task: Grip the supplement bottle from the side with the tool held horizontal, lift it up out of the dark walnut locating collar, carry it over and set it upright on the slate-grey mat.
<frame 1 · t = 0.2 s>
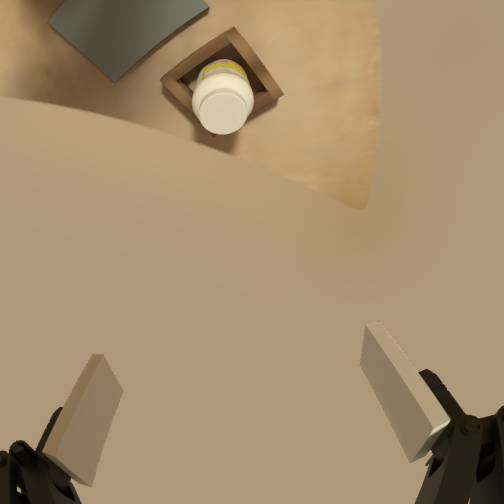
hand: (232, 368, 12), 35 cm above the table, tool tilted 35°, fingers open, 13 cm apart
locating collar: (222, 79, 32), on the table
supplement bottle: (222, 79, 32), resting in locating collar
slate mat: (122, 7, 20), on the table
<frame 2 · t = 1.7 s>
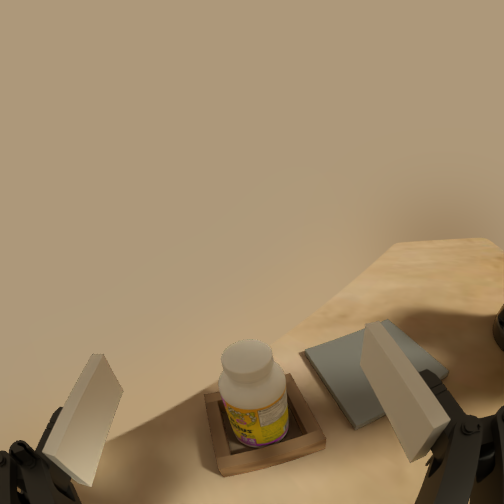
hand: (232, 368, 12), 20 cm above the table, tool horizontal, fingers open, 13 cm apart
locating collar: (261, 428, 28), on the table
supplement bottle: (261, 429, 28), resting in locating collar
slate mat: (376, 367, 34), on the table
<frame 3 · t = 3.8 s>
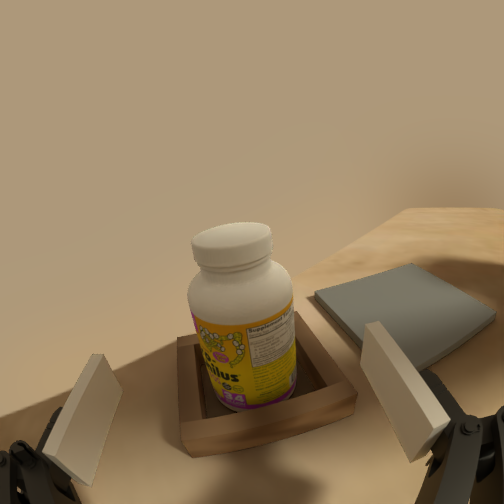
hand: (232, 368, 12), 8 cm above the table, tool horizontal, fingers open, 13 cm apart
locating collar: (255, 386, 20), on the table
supplement bottle: (256, 388, 20), resting in locating collar
slate mat: (407, 311, 26), on the table
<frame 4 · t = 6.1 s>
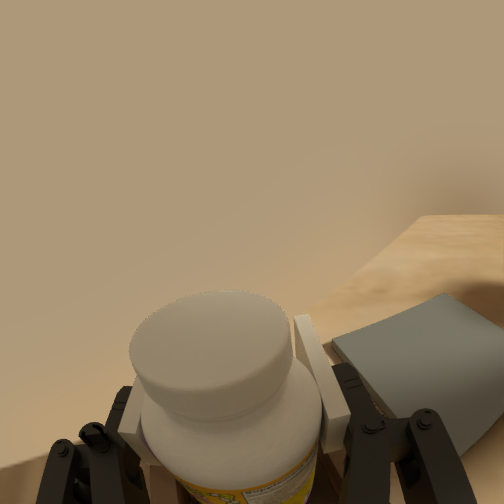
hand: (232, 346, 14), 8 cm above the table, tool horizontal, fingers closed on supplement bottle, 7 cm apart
locating collar: (256, 486, 12), on the table
supplement bottle: (257, 487, 12), resting in locating collar, touching gripper
slate mat: (446, 363, 18), on the table
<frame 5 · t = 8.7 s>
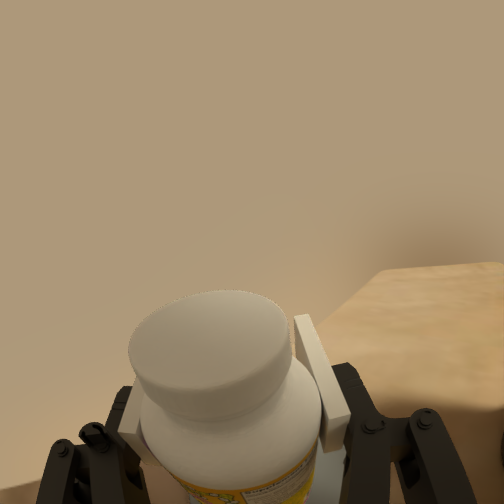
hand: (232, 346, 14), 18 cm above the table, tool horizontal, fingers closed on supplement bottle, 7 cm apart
supplement bottle: (256, 487, 12), point 10 cm above the table, touching gripper
when the fingers open (10 cm above the table, at t = 11.4 s): supplement bottle drops 1 cm, resting on slate mat.
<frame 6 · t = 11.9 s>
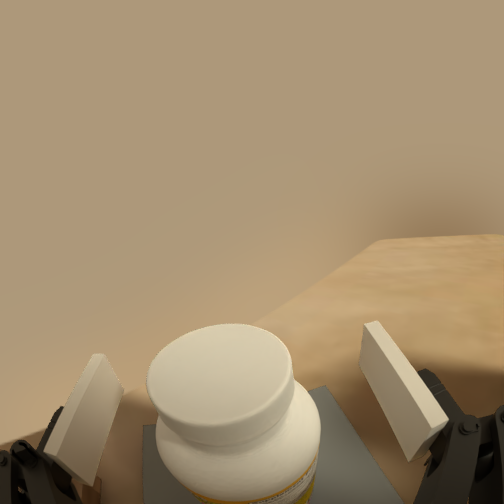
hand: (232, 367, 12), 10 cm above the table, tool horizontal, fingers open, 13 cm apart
supplement bottle: (261, 493, 12), point 1 cm above the table, touching slate mat
slate mat: (260, 496, 13), on the table
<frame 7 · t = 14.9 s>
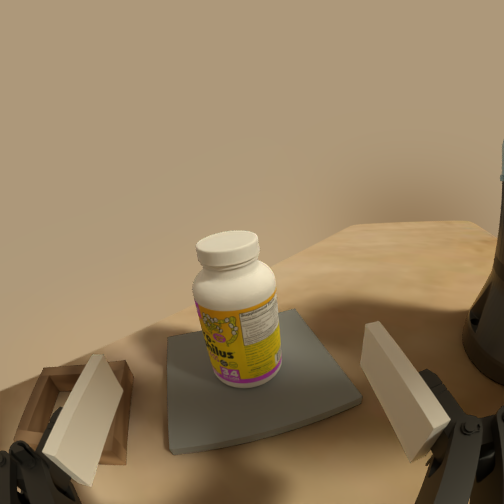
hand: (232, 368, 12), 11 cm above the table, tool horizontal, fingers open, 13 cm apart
locating collar: (80, 417, 19), on the table
supplement bottle: (248, 368, 25), point 1 cm above the table, touching slate mat
slate mat: (248, 373, 25), on the table
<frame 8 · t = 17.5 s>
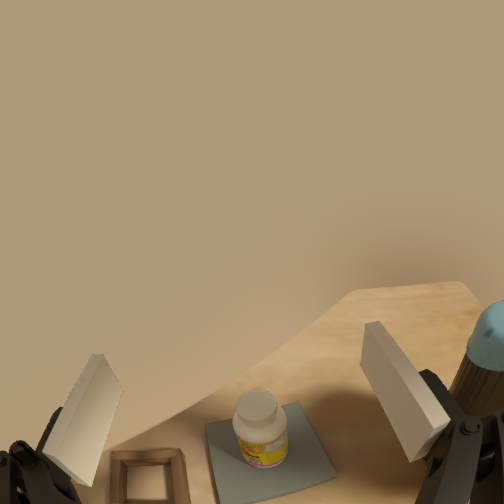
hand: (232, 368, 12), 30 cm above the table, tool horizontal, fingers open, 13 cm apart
locating collar: (151, 487, 26), on the table
supplement bottle: (265, 452, 32), point 1 cm above the table, touching slate mat
slate mat: (265, 454, 32), on the table
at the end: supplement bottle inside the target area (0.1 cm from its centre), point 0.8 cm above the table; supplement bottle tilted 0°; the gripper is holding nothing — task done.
